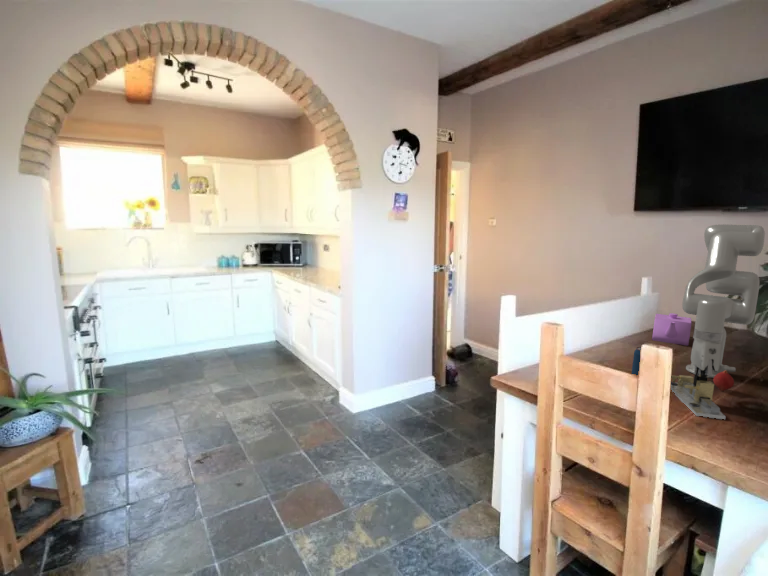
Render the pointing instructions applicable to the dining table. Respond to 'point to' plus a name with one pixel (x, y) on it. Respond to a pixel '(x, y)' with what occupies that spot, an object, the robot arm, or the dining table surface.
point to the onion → (723, 380)
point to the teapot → (672, 329)
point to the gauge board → (698, 408)
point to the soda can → (636, 361)
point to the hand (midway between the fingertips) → (699, 386)
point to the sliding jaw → (702, 389)
